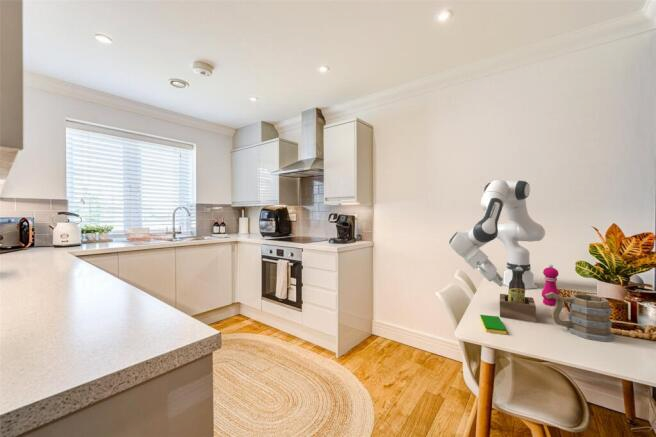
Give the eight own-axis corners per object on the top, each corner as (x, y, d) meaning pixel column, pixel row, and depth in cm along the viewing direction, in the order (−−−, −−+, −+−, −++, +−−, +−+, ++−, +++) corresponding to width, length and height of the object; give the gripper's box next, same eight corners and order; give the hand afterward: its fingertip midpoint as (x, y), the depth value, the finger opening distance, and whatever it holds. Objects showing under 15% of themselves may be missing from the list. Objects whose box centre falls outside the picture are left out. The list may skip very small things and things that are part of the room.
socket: (499, 307, 134) (499, 293, 133) (532, 312, 127) (532, 297, 126) (499, 316, 123) (499, 301, 122) (535, 322, 116) (535, 306, 115)
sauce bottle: (509, 314, 123) (509, 270, 122) (506, 309, 129) (506, 267, 128) (527, 315, 121) (527, 271, 120) (522, 310, 127) (522, 268, 126)
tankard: (602, 329, 108) (603, 292, 108) (619, 344, 97) (620, 302, 96) (540, 321, 117) (540, 287, 116) (549, 334, 106) (549, 295, 105)
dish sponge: (485, 333, 109) (485, 327, 108) (480, 319, 121) (480, 314, 121) (506, 335, 106) (506, 329, 106) (498, 321, 119) (498, 316, 119)
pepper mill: (553, 301, 140) (553, 263, 139) (563, 306, 133) (564, 266, 132) (538, 301, 141) (538, 263, 140) (548, 306, 134) (548, 266, 133)
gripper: (482, 259, 122) (508, 284, 117) (484, 253, 139) (507, 274, 134) (471, 268, 125) (496, 293, 120) (474, 261, 142) (496, 282, 137)
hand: (502, 282), depth 127 cm, fingers open, 8 cm apart
